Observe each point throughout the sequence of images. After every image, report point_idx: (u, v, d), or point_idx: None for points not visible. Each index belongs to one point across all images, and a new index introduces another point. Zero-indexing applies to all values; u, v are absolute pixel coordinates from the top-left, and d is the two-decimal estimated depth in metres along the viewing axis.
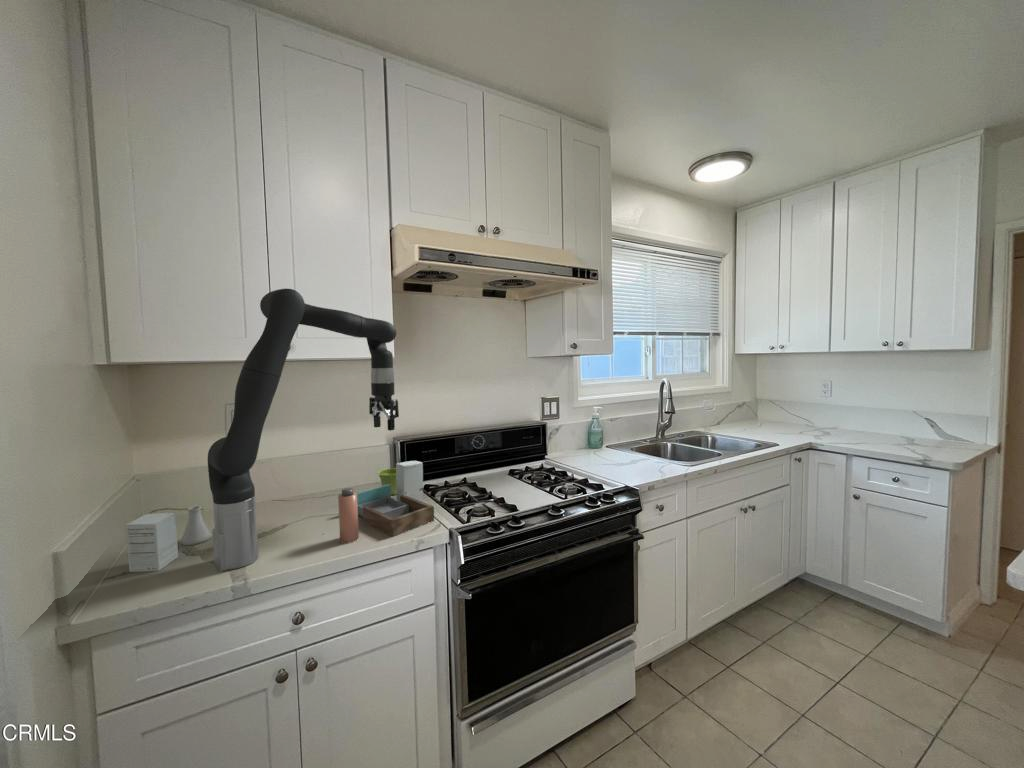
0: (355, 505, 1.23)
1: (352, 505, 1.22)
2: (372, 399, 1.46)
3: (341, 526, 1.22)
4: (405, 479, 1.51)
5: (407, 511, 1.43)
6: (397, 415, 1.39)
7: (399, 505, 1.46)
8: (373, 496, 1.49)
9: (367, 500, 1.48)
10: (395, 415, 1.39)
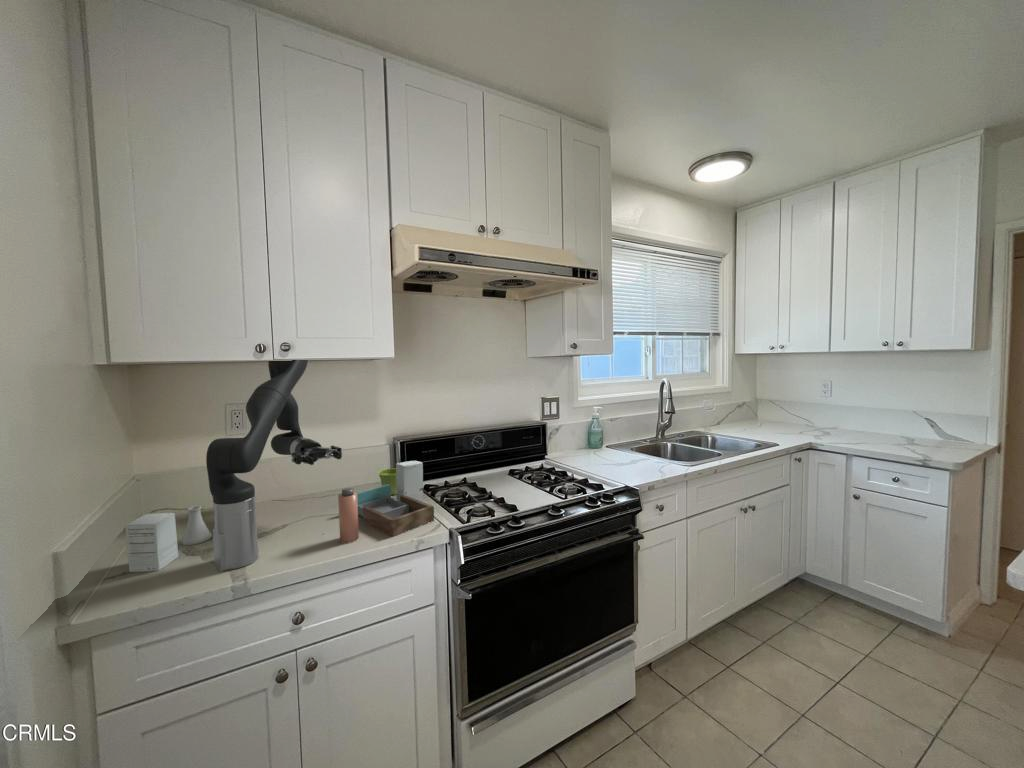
0: (355, 505, 1.23)
1: (352, 505, 1.22)
2: None
3: (341, 526, 1.22)
4: (405, 479, 1.51)
5: (407, 511, 1.43)
6: None
7: (399, 505, 1.46)
8: (373, 496, 1.49)
9: (367, 500, 1.48)
10: None
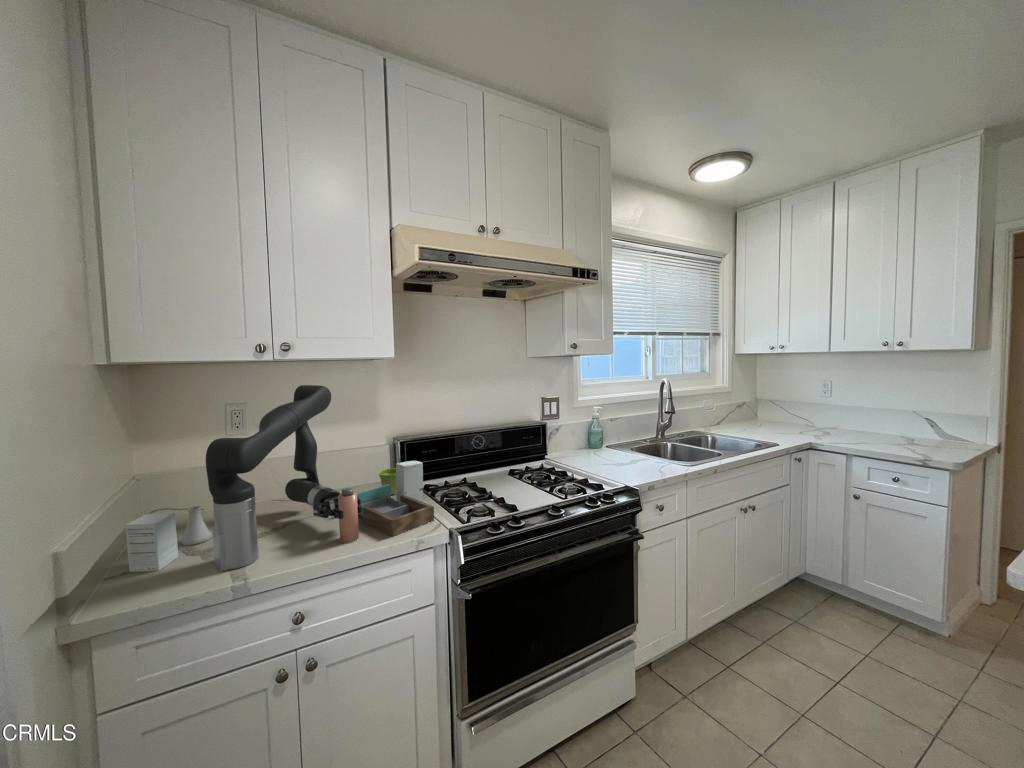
0: (355, 505, 1.23)
1: (352, 505, 1.22)
2: None
3: (341, 526, 1.22)
4: (405, 479, 1.51)
5: (407, 511, 1.43)
6: None
7: (399, 505, 1.46)
8: (373, 496, 1.49)
9: (367, 500, 1.48)
10: None
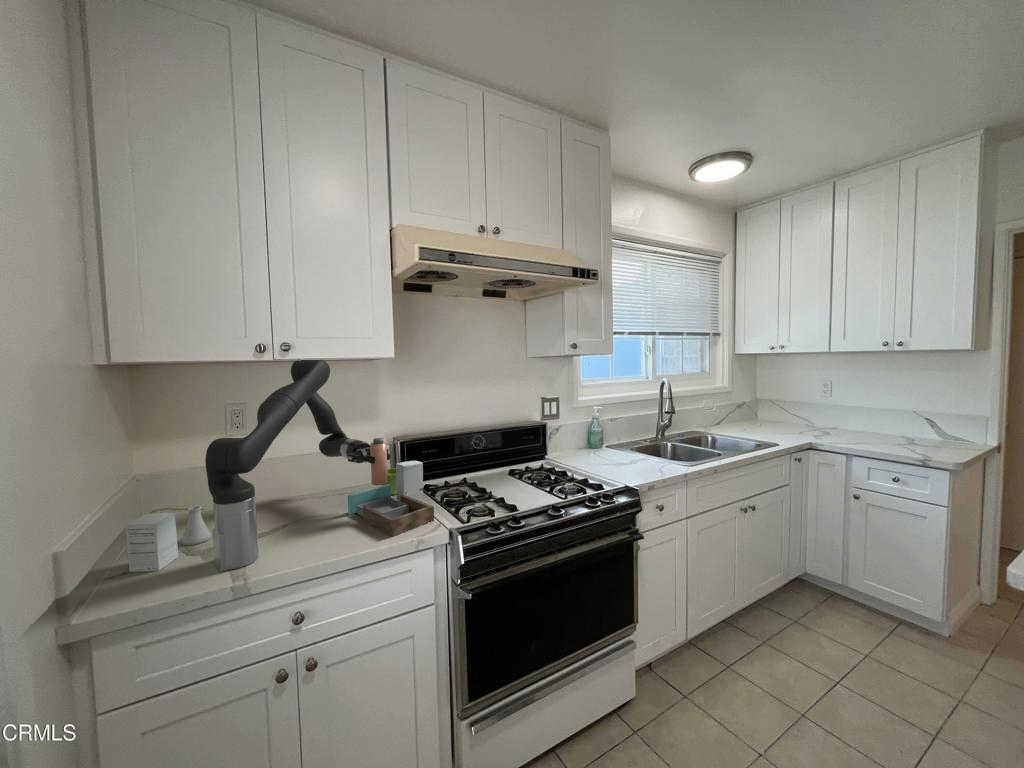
0: (385, 452, 1.40)
1: (383, 451, 1.39)
2: None
3: (373, 470, 1.39)
4: (405, 479, 1.51)
5: (407, 511, 1.43)
6: None
7: (399, 505, 1.46)
8: (373, 496, 1.49)
9: (367, 500, 1.48)
10: None
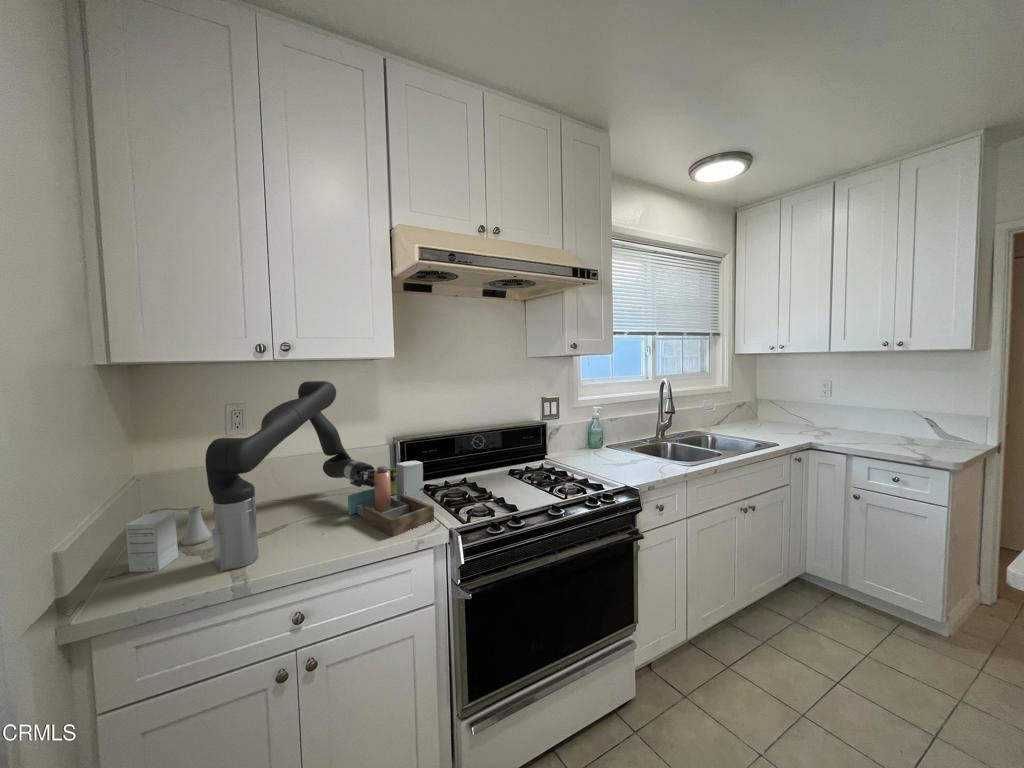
0: (389, 481, 1.42)
1: (386, 480, 1.41)
2: None
3: (376, 499, 1.41)
4: (405, 479, 1.51)
5: (407, 511, 1.43)
6: None
7: (399, 505, 1.46)
8: (373, 496, 1.49)
9: (367, 500, 1.47)
10: None
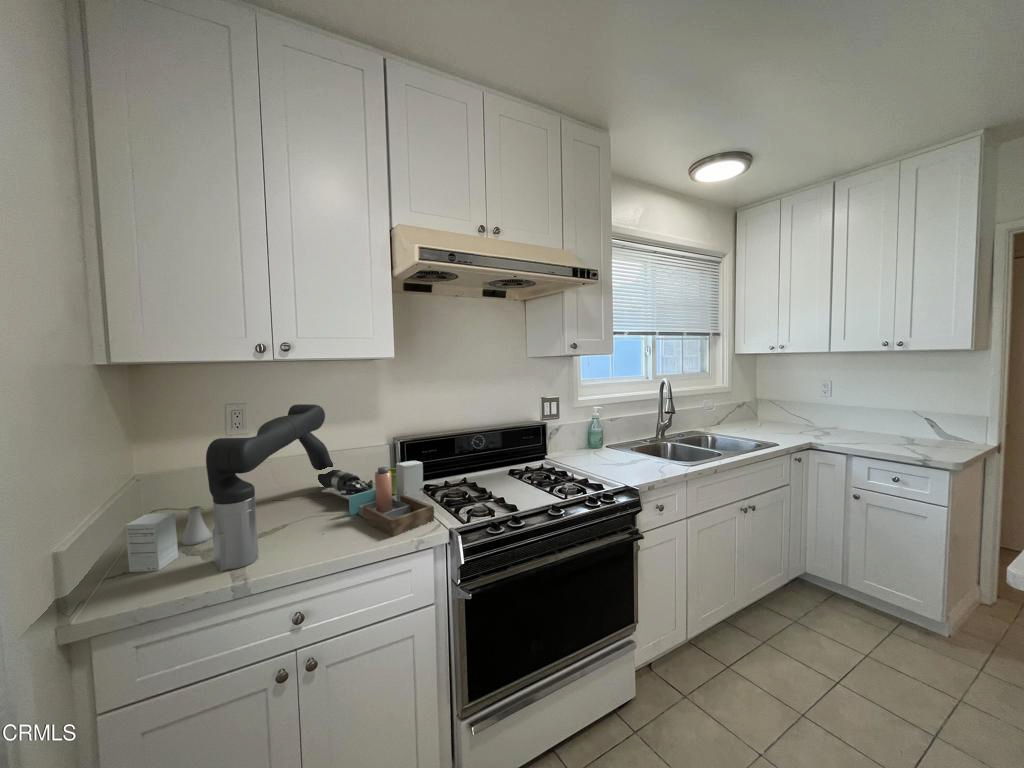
0: (389, 481, 1.41)
1: (387, 481, 1.40)
2: None
3: (378, 499, 1.40)
4: (405, 479, 1.51)
5: (408, 512, 1.43)
6: None
7: (400, 506, 1.46)
8: (374, 497, 1.49)
9: (368, 501, 1.47)
10: None
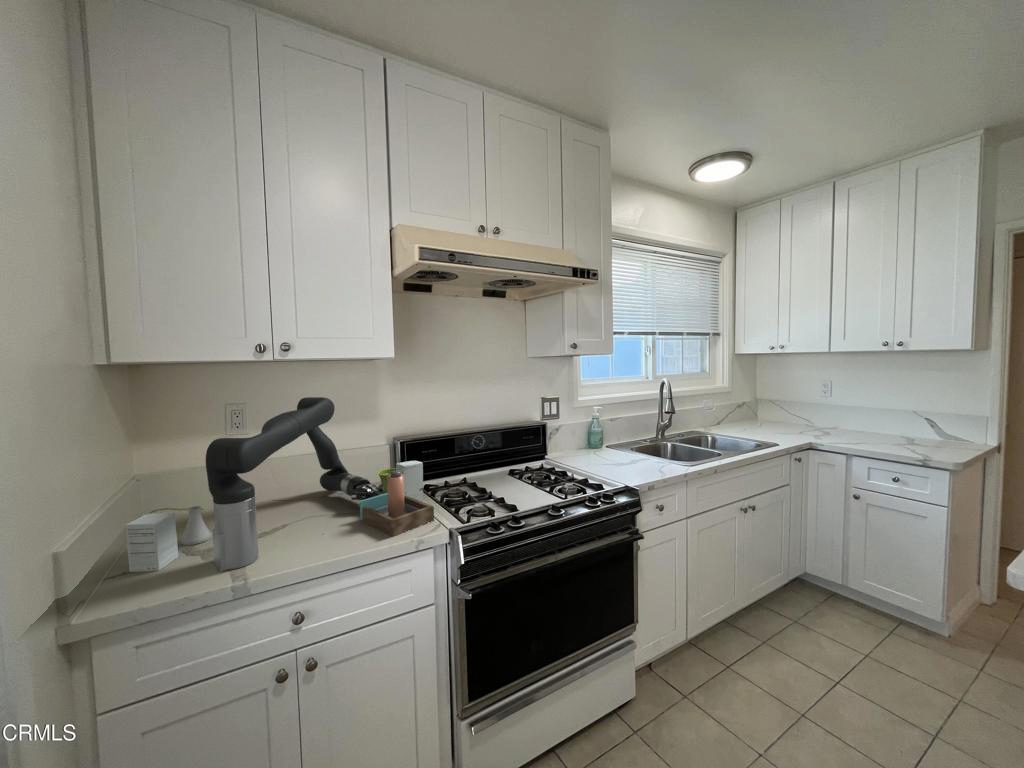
0: (402, 485, 1.37)
1: (400, 485, 1.36)
2: None
3: (390, 504, 1.36)
4: (405, 479, 1.51)
5: None
6: (381, 493, 1.49)
7: (413, 511, 1.41)
8: (386, 501, 1.44)
9: (379, 505, 1.42)
10: None
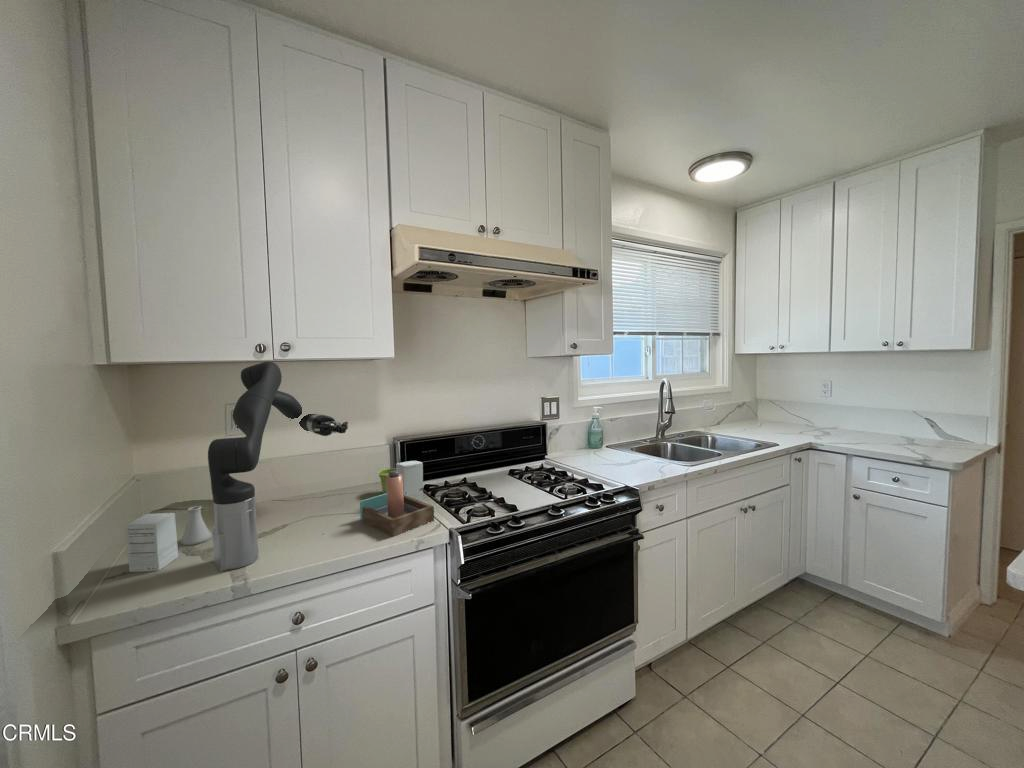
0: (401, 485, 1.37)
1: (398, 485, 1.36)
2: None
3: (389, 504, 1.36)
4: (405, 479, 1.51)
5: None
6: None
7: (413, 511, 1.41)
8: (386, 501, 1.44)
9: (379, 505, 1.42)
10: None
